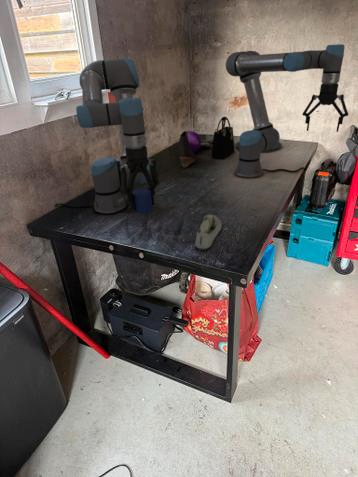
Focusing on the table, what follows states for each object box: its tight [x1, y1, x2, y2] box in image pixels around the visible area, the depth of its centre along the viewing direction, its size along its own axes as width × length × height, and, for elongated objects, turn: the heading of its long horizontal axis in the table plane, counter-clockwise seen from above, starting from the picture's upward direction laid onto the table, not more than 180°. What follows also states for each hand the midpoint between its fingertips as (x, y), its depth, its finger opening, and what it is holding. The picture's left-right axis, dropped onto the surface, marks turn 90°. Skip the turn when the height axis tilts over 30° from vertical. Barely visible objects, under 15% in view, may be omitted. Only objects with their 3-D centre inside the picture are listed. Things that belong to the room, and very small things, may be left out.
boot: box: [178, 130, 197, 169], centre depth 209 cm, size 9×24×20 cm, turn 168°
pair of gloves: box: [199, 134, 214, 149], centre depth 251 cm, size 30×26×5 cm
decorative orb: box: [178, 130, 201, 154], centre depth 230 cm, size 15×15×15 cm
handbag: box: [211, 116, 236, 160], centre depth 219 cm, size 21×9×25 cm, turn 148°
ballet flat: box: [194, 214, 223, 251], centre depth 128 cm, size 8×24×8 cm, turn 163°
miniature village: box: [235, 141, 282, 154], centre depth 237 cm, size 32×35×9 cm
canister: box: [132, 188, 154, 215], centre depth 124 cm, size 7×7×7 cm
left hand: (142, 206), depth 126 cm, fingers closed on canister, 7 cm apart
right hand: (322, 130), depth 162 cm, fingers open, 13 cm apart
